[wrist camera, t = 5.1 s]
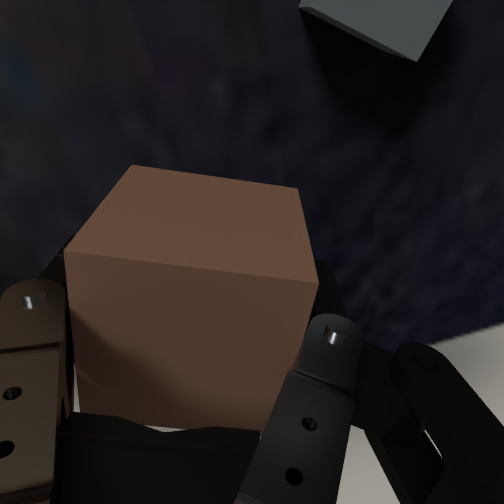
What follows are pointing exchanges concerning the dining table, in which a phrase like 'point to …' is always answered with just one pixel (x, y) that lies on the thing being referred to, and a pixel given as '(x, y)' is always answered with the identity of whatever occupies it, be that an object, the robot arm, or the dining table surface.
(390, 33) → the blue-grey cube
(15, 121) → the dining table surface
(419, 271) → the dining table surface
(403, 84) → the dining table surface
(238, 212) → the terracotta cube
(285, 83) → the dining table surface
